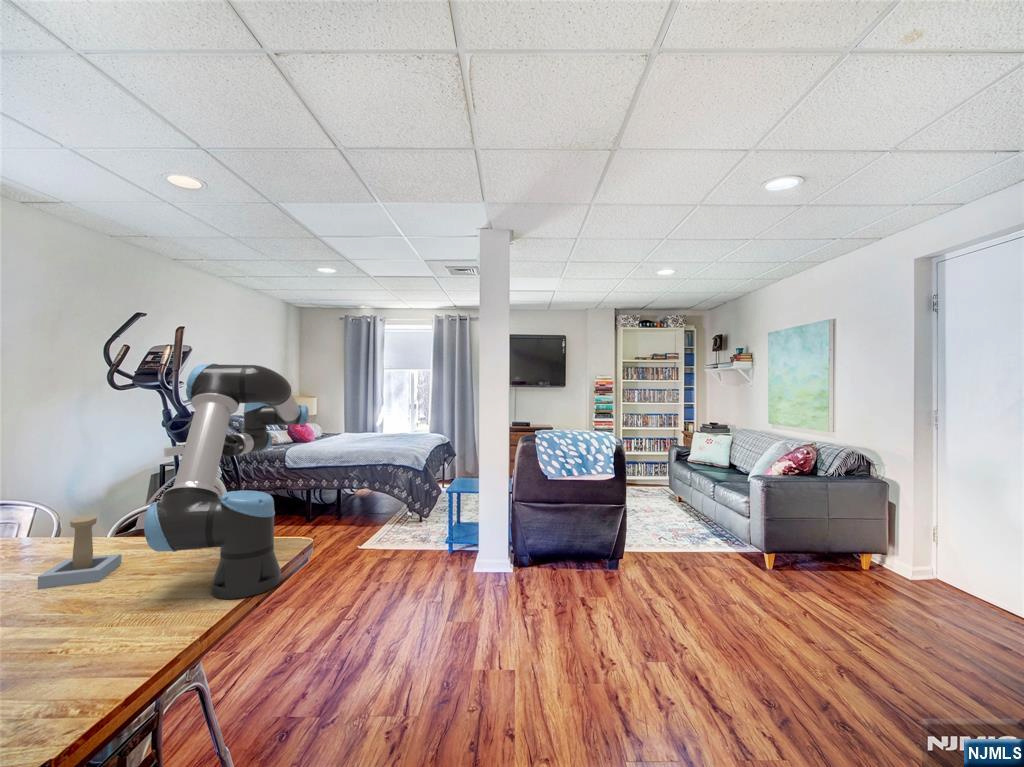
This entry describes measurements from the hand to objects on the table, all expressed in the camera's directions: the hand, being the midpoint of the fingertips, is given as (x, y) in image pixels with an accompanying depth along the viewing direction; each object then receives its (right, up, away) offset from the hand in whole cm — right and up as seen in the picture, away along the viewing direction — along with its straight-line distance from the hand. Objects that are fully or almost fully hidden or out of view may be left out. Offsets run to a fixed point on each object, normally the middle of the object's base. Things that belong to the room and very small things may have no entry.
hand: (184, 452), depth 136 cm
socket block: (-13, -30, -19) cm, 38 cm away
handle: (-13, -30, -19) cm, 38 cm away
